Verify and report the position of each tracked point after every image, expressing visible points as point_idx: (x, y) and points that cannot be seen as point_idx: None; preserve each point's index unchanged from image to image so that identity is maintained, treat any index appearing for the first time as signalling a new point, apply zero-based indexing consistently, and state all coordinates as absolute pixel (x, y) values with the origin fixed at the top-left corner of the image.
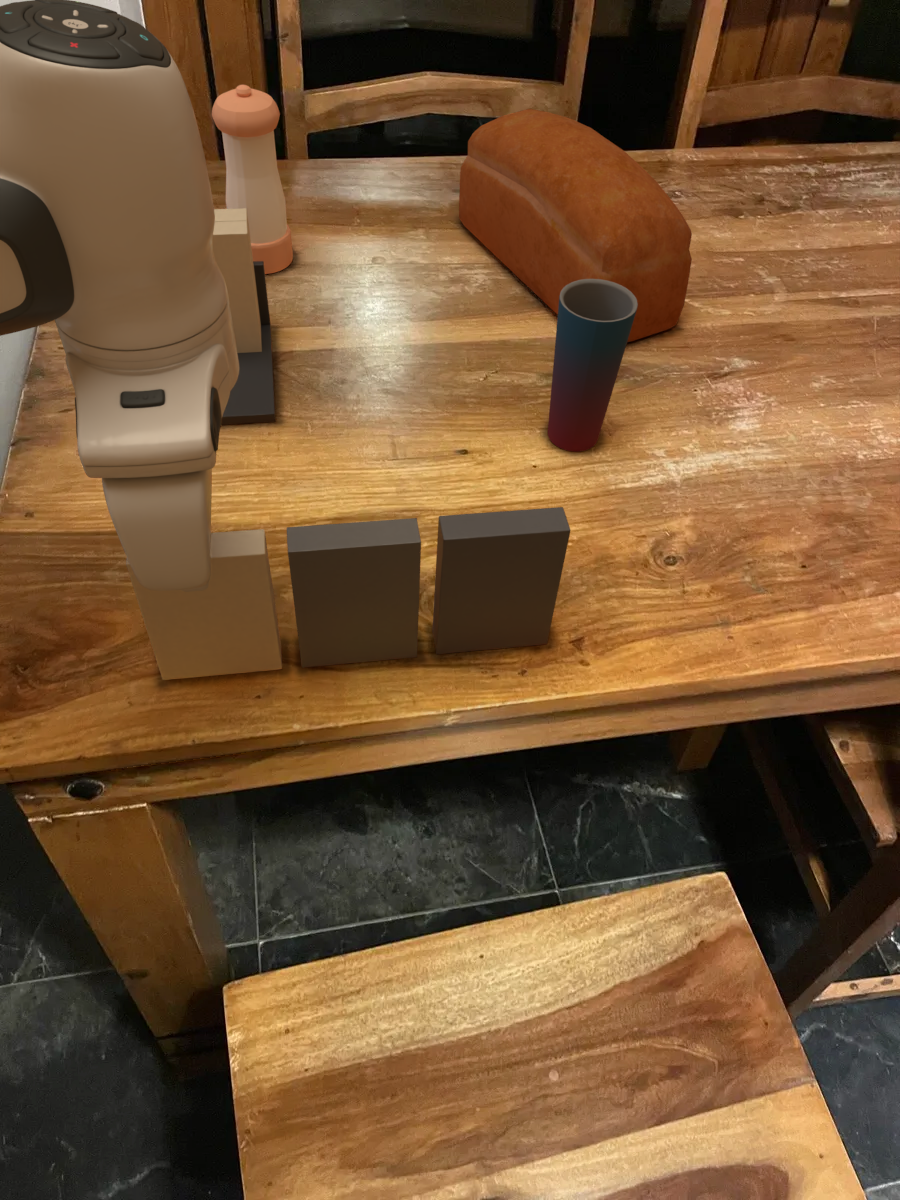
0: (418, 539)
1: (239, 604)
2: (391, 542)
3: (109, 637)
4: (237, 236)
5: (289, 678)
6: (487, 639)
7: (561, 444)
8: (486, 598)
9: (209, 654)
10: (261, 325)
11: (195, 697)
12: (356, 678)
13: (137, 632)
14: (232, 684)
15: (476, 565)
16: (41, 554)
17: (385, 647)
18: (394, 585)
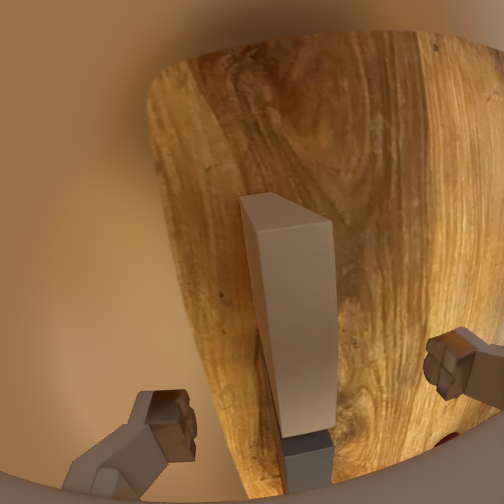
0: None
1: (263, 340)
2: None
3: (296, 129)
4: None
5: (244, 319)
6: (276, 451)
7: (440, 444)
8: (283, 486)
9: (248, 259)
10: None
11: (218, 234)
12: (246, 371)
13: (303, 158)
14: (235, 268)
15: None
16: (396, 55)
17: (268, 401)
18: (281, 468)
